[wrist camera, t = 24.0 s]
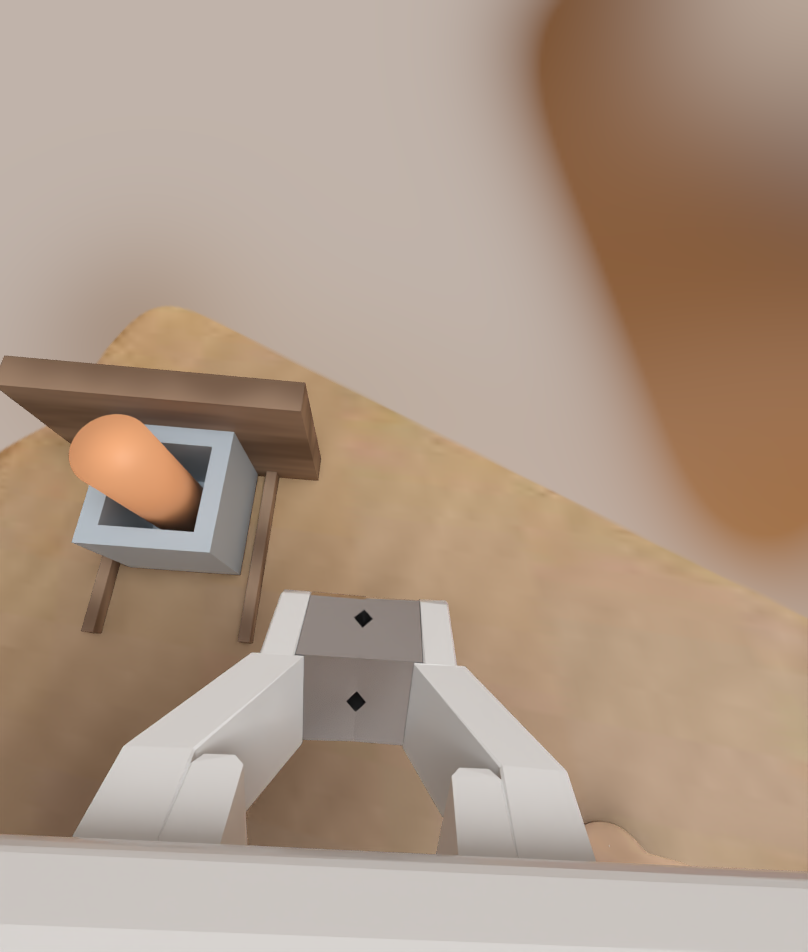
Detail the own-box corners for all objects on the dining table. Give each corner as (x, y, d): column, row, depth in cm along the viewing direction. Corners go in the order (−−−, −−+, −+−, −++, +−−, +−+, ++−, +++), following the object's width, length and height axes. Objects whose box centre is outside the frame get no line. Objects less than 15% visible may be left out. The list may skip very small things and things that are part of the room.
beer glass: (667, 845, 34) (881, 971, 20) (638, 965, 31) (858, 1205, 17) (572, 793, 34) (714, 879, 20) (537, 906, 32) (670, 1091, 18)
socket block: (240, 575, 38) (209, 552, 30) (129, 567, 37) (71, 542, 30) (257, 474, 41) (234, 431, 33) (156, 466, 40) (109, 421, 33)
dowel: (210, 548, 38) (134, 494, 25) (158, 537, 38) (55, 477, 25) (227, 499, 39) (164, 424, 26) (177, 488, 39) (88, 406, 26)
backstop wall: (296, 645, 37) (266, 636, 25) (44, 629, 36) (-103, 612, 24) (320, 458, 42) (305, 382, 31) (102, 440, 41) (4, 355, 30)
